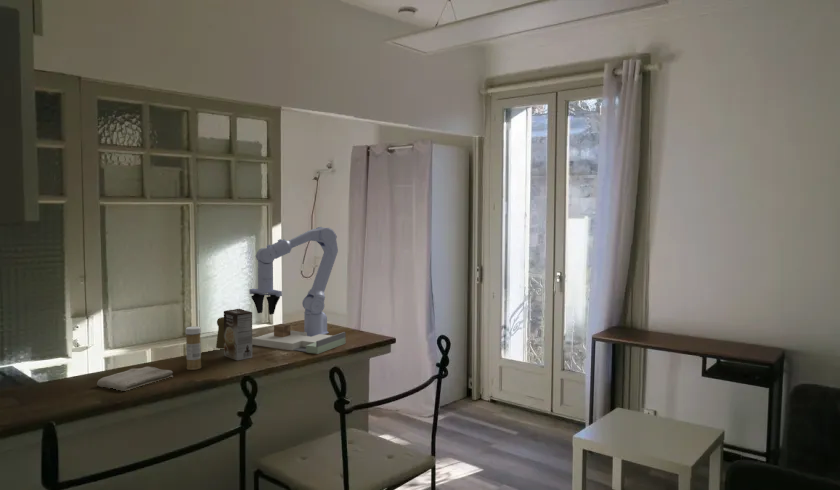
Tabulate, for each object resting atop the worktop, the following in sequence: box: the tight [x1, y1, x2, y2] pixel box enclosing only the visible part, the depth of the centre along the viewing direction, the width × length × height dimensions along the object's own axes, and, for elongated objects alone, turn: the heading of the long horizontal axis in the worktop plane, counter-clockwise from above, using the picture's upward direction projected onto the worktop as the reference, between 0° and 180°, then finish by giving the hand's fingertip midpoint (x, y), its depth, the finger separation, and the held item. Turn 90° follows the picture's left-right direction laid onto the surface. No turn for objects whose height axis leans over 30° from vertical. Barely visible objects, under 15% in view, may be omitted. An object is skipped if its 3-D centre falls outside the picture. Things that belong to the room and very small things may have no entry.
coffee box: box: [223, 308, 253, 361], centre depth 207 cm, size 9×6×16 cm
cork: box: [215, 316, 224, 350], centre depth 222 cm, size 6×6×11 cm
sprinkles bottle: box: [185, 325, 202, 371], centre depth 192 cm, size 5×5×13 cm
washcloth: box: [96, 366, 174, 392], centre depth 178 cm, size 12×18×3 cm, turn 154°
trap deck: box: [252, 330, 347, 355], centre depth 227 cm, size 18×30×4 cm, turn 64°
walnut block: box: [273, 323, 291, 337], centre depth 230 cm, size 4×4×4 cm
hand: (265, 313), depth 234 cm, fingers open, 5 cm apart
